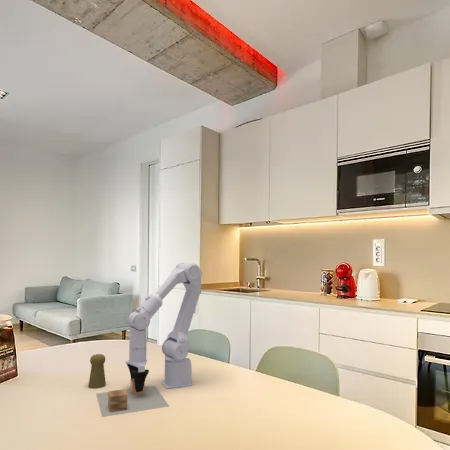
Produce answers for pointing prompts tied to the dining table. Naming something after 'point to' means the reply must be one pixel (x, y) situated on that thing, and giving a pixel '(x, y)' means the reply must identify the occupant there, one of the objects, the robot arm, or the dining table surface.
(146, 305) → the robot arm
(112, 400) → the tower top
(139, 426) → the dining table surface
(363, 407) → the dining table surface
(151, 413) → the dining table surface
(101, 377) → the olive pawn
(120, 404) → the tower bottom
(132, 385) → the cube
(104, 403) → the mat
